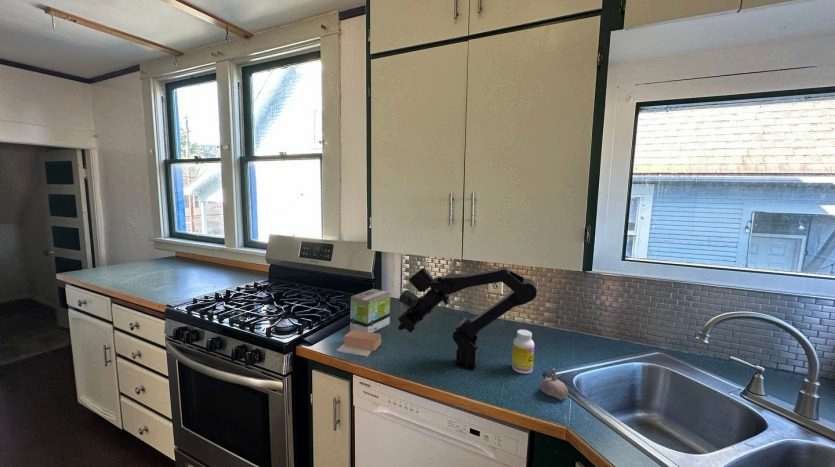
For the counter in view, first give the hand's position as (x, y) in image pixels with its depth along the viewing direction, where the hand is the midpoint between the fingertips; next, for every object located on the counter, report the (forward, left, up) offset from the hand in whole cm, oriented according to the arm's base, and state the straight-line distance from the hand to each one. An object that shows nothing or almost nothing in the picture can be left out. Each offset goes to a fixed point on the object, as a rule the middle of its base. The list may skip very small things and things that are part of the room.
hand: (399, 328), depth 123 cm
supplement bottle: (-41, -11, -9) cm, 44 cm away
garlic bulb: (-52, -1, -9) cm, 53 cm away
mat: (+15, +3, -9) cm, 18 cm away
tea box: (+23, -14, -9) cm, 28 cm away
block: (+8, +2, -6) cm, 11 cm away
